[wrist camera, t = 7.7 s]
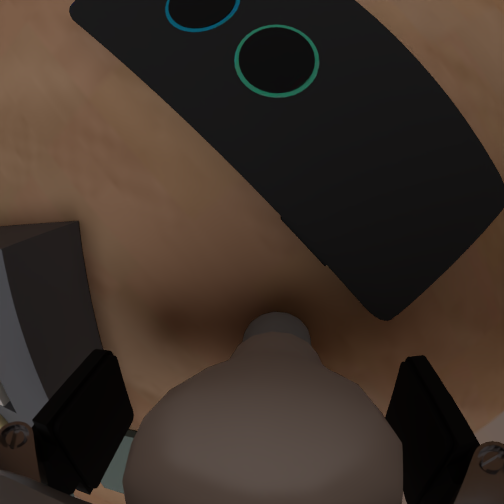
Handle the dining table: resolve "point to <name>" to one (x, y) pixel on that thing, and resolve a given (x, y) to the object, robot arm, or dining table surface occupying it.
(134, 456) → the light bulb
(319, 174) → the smart home device
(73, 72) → the dining table surface
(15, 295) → the grey button control box
